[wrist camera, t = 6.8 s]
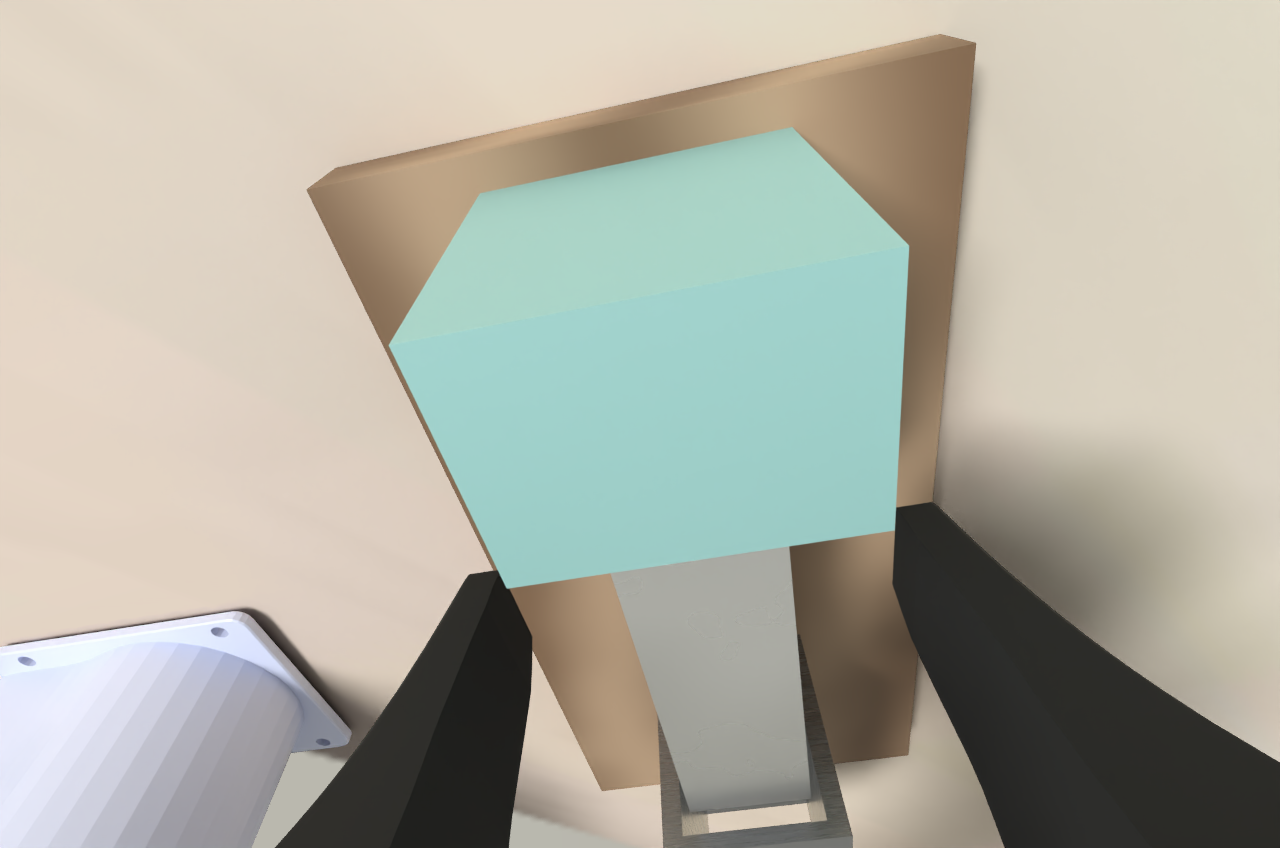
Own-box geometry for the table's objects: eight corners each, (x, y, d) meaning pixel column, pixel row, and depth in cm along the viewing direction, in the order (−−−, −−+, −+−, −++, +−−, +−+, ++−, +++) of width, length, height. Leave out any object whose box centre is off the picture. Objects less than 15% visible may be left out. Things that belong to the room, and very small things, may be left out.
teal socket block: (543, 384, 15) (506, 588, 10) (479, 193, 12) (388, 344, 7) (803, 337, 14) (894, 529, 9) (792, 126, 11) (909, 246, 7)
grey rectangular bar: (681, 700, 19) (690, 812, 16) (562, 285, 11) (545, 378, 9) (786, 686, 18) (811, 798, 16) (737, 250, 11) (771, 336, 8)
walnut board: (602, 753, 27) (601, 790, 26) (335, 167, 13) (306, 189, 12) (894, 717, 26) (908, 755, 25) (940, 34, 12) (976, 43, 11)
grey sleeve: (689, 768, 25) (704, 953, 20) (654, 654, 21) (663, 856, 16) (809, 753, 24) (853, 939, 20) (799, 634, 20) (852, 835, 16)
